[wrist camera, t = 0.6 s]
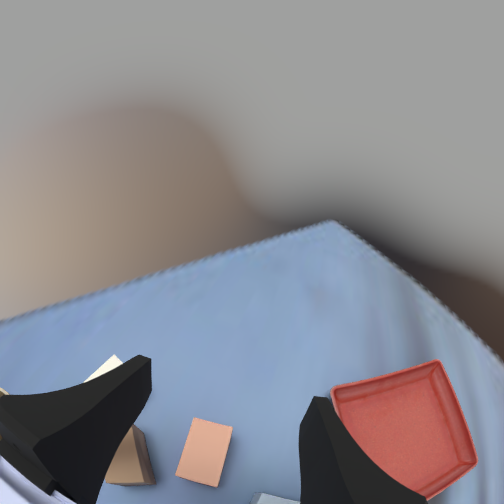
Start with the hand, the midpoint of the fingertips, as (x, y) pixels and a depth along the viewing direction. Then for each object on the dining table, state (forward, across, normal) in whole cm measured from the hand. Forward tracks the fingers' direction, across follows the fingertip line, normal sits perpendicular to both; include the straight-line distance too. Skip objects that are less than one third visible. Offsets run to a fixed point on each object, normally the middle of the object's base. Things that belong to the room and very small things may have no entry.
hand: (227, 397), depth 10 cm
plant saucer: (+10, -21, +15) cm, 28 cm away
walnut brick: (+4, +8, +18) cm, 20 cm away
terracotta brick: (+6, +1, +17) cm, 18 cm away
